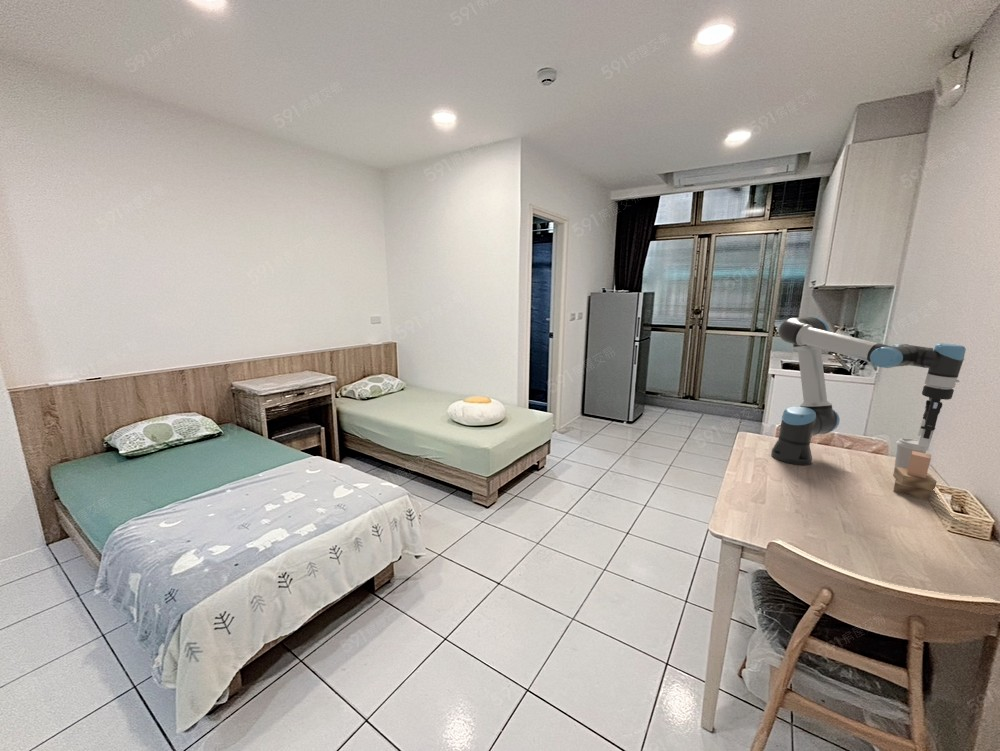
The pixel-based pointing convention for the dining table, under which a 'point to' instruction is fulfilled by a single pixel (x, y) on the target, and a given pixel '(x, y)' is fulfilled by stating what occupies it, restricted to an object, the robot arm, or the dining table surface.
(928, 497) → the slab bottom
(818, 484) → the dining table surface
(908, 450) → the coffee cup
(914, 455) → the terracotta block
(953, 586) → the dining table surface
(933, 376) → the robot arm
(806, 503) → the dining table surface
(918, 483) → the slab top
